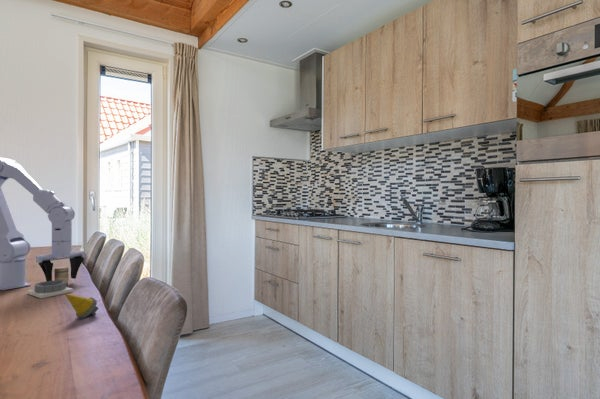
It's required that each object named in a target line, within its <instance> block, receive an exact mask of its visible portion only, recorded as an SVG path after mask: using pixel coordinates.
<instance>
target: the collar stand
mask: <svg viewBox="0 0 600 399" xmlns="http://www.w3.org/2000/svg"><path fill="white" fill-rule="evenodd" d="M73 292H74V288H72V287H69V286H66V281H62V280H55V281H54V280H52V281H42V282H37V283H35V284H34V289H29V290H27V295H31V296H34V297H36V298H38V299H44V298H48V297H53V296H59V295H65V294H69V293H73Z"/></svg>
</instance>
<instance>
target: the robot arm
mask: <svg viewBox="0 0 600 399" xmlns="http://www.w3.org/2000/svg"><path fill="white" fill-rule="evenodd" d="M9 179H12V180H14V181H16V182H17V183H18V184H19V185H21V186H22V187H23V188H24V189H25V190H26V191H28V192H29V193H30V194H31V195H32V201H33V202H34V203H36V205H37V206H38V207H40V208H41V210H43V212H45V213H46V214H47V217H48V218H47V219H48V220H49V222H50V223H51V253H49V254H42V255H36V256H35V257H36V260H35V262H36V263H38V265H39V267H40V268H41V269H42V272H43V275H44V277H45V280H46V281H53V269H54V268H53V267H54V263H53V262H52V261H58V260H66V259H67V260H68V259H69V264H70V278H71V279H74V280H75V279H77V275H78V272H79V269H80V267H81V266H82V264H83V262H84V258H85V257H86V251H84V250H80V251H77V250H76V251H72V250H73V248H72V246H73V245H72V242H73V240H72V234H73V233H72V231H73V230H72V223H73V219H74V218H75V216H76V215H75V214H76V213H75V211H74V209H73V207H72V206H70V205H66V203H65V202H64V201H62V200H60V198H58V197H57V196H56V195H55V194H56V192H55V191H53V190H50V189H44V188H42V187H41V186H40V185H39V184H38V183H37V181H36V180H35V179H34V178H33V177H32V176H31V175H30V174H29V173H28V172H27V171H26V170H25V169H24V167H23V165H21V164H20V163H18V162H17V160H15V159H14V158H11V157H3V156H0V290H1V291H6V290H7V291H8V290H11V289H12V290H13V289H17V288H24V287H29V286H31V285H32V284H31V283H29V282H27V255H29V253H30V251H31V244H30V243H29V241H28V240H26V238H25V237H24V234H22V233H21V232H20V231H19V230H18V229H17V228H16V224H15V221H14V219H13V217H12V214H11V210H10V209H9V205H8V203H7V200H6V197H5V194H4V193H3V192H4V191H3V190H2V186H3V184H4V183H5V182H6V181H8V180H9ZM46 281H45V282H46Z"/></svg>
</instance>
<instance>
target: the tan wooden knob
mask: <svg viewBox="0 0 600 399" xmlns="http://www.w3.org/2000/svg"><path fill="white" fill-rule="evenodd" d="M53 269H54V270H53V271H54V276H53V278H54V280H53V281H55V280H62V281H66V287H68V286H69V270H70V269H69V267H68V266H60V267H56V268H53Z"/></svg>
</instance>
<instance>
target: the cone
mask: <svg viewBox="0 0 600 399" xmlns="http://www.w3.org/2000/svg"><path fill="white" fill-rule="evenodd" d="M64 295H65V297H66V299H67V301H68V302H69V303H70V305H71V306H72V308H73V309H74V311H75V312H76V313H75V316H76V317H77V318H79V319H85V318H86V317H88V316H89V315H91V314H92V315H97V313H96V312H97V311H98V310H99V307H98V306H97V304H98V300H96V299H95V298H93V297H89V298H88V297H83V296H79V295H73V294H69V293H64ZM92 315H91V316H92Z"/></svg>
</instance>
